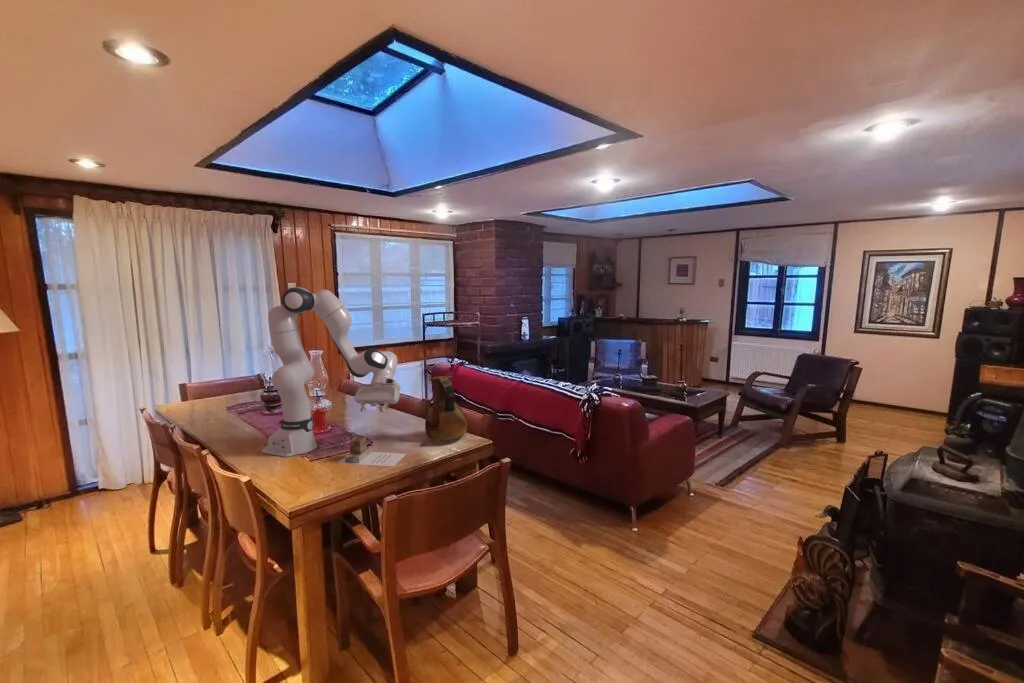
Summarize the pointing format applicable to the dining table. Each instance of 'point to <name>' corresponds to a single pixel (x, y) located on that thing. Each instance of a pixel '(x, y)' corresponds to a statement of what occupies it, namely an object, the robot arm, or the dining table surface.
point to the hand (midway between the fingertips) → (371, 411)
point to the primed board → (379, 459)
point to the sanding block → (358, 450)
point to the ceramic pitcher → (445, 413)
